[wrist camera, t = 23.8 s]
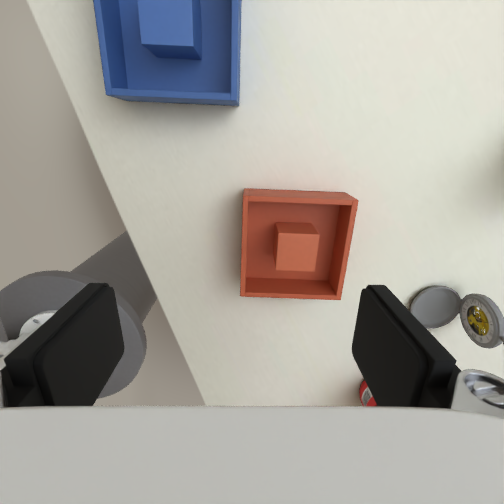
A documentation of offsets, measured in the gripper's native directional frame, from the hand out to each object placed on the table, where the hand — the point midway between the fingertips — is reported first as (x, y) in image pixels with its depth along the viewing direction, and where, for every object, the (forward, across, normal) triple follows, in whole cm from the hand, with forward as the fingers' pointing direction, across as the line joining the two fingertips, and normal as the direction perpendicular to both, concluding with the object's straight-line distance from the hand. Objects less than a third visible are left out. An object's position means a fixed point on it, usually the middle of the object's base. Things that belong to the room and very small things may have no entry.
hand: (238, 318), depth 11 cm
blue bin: (+25, +7, -16) cm, 31 cm away
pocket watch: (+25, -28, +15) cm, 40 cm away
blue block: (+25, +7, -16) cm, 30 cm away
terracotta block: (+25, -6, +5) cm, 26 cm away
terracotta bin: (+25, -6, +5) cm, 26 cm away
